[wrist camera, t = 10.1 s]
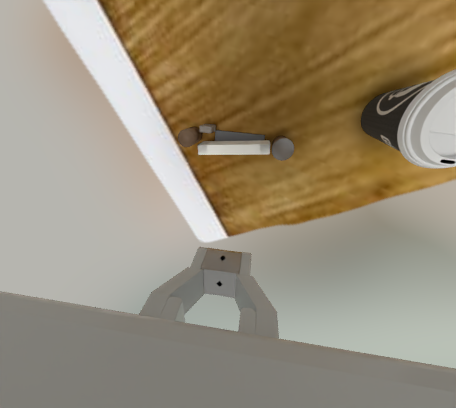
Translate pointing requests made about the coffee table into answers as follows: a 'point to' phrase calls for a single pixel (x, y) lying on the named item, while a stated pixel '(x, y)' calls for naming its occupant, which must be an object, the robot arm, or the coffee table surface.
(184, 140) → the brown rounded cylinder
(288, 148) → the hinge post
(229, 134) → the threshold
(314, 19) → the coffee table surface
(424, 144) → the coffee cup
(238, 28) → the coffee table surface
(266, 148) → the white long block
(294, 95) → the coffee table surface
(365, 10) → the coffee table surface
